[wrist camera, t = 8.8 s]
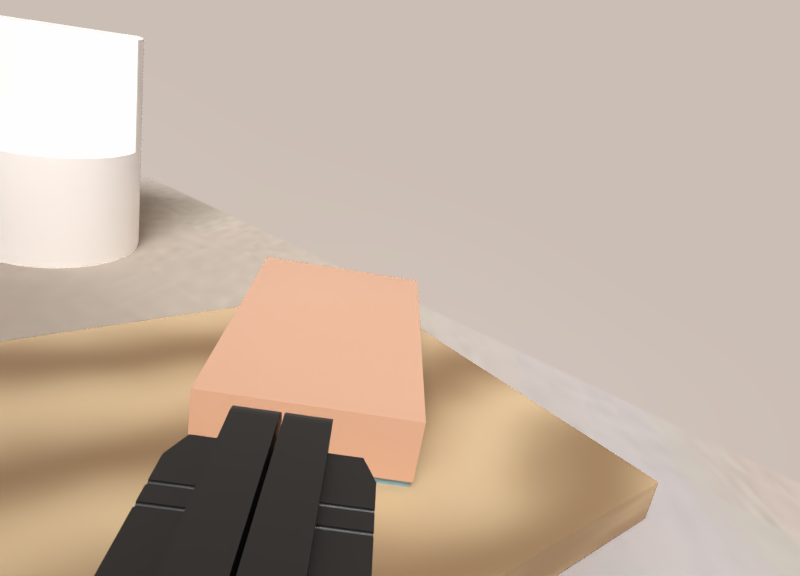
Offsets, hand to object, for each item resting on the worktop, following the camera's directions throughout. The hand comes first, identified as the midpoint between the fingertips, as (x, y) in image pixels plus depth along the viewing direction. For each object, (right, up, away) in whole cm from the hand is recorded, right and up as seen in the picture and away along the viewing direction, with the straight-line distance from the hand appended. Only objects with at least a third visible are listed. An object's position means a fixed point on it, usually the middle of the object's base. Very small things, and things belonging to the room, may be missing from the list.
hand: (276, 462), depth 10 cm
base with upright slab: (-18, +5, +29) cm, 35 cm away
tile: (-1, -2, +10) cm, 10 cm away
